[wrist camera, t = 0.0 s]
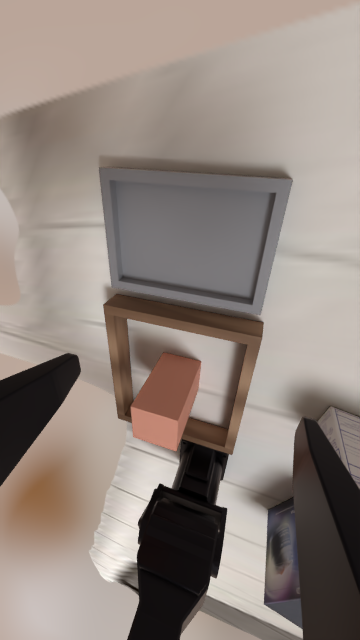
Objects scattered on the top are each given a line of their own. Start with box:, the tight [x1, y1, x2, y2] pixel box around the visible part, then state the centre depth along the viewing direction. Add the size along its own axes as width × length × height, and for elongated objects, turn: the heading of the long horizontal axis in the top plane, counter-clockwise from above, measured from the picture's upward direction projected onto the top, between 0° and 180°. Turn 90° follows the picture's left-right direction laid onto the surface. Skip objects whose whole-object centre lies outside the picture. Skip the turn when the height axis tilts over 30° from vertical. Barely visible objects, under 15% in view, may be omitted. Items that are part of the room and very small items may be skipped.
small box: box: [264, 498, 303, 629], centre depth 31 cm, size 11×6×10 cm, turn 158°
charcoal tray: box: [99, 167, 293, 315], centre depth 22 cm, size 10×14×2 cm
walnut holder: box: [103, 294, 264, 455], centre depth 29 cm, size 17×15×2 cm
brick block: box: [131, 352, 201, 451], centre depth 27 cm, size 4×4×8 cm
